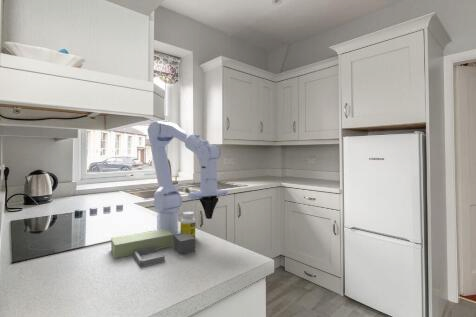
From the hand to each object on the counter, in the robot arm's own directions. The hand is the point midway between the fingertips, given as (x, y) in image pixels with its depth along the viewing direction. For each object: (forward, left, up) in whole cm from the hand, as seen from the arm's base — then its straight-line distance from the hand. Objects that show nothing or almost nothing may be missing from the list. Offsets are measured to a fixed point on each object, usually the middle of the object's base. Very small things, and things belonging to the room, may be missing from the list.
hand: (208, 218), depth 87 cm
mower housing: (-4, -20, -9) cm, 22 cm away
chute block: (0, -9, -10) cm, 13 cm away
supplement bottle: (-9, -4, -10) cm, 14 cm away
